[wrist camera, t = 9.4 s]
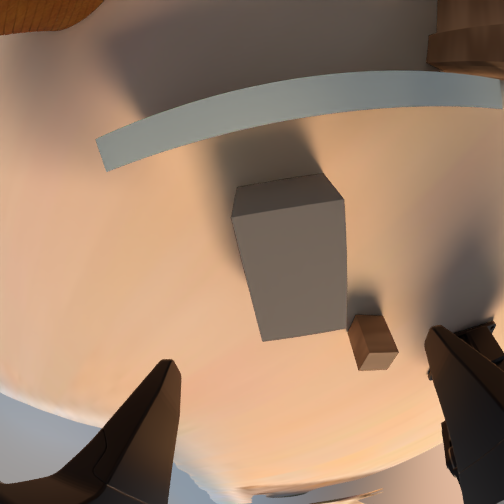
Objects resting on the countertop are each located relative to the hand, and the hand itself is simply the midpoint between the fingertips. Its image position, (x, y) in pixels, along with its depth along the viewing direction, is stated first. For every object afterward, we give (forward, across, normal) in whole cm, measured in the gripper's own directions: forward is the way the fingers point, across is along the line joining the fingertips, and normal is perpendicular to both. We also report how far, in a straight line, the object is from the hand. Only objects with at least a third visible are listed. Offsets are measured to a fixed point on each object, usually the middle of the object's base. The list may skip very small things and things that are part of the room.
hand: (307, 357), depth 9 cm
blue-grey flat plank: (+8, -2, -8) cm, 11 cm away
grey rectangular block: (+8, 0, 0) cm, 8 cm away
